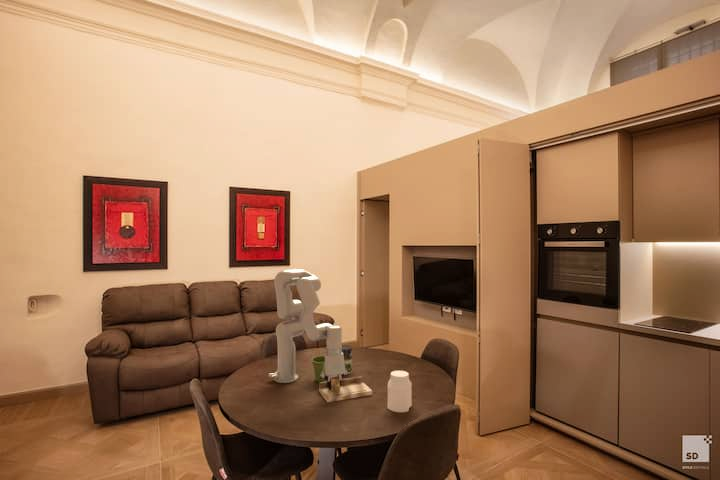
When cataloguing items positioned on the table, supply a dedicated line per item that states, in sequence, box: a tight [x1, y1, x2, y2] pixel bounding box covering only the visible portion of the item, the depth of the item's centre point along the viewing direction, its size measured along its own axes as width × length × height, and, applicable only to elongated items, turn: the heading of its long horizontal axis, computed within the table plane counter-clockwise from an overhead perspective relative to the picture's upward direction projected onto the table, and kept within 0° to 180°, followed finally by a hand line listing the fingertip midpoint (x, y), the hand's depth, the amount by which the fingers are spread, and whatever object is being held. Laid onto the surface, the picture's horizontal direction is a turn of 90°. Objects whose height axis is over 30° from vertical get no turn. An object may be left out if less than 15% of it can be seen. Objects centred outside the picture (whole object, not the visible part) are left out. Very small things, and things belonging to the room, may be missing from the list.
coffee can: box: [342, 344, 353, 375], centre depth 214 cm, size 10×10×14 cm
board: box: [318, 375, 373, 403], centre depth 183 cm, size 23×14×4 cm, turn 112°
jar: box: [387, 370, 413, 413], centre depth 167 cm, size 12×10×15 cm
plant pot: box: [311, 355, 327, 382], centre depth 201 cm, size 12×12×11 cm
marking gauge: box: [330, 375, 340, 393], centre depth 180 cm, size 4×11×6 cm, turn 22°
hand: (334, 387), depth 183 cm, fingers closed on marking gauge, 4 cm apart
